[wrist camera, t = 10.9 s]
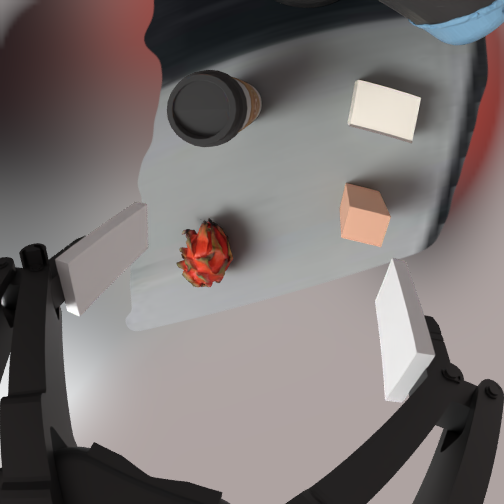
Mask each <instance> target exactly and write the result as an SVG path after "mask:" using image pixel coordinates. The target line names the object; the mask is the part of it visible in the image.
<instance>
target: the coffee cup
mask: <svg viewBox="0 0 504 504" xmlns="http://www.w3.org/2000/svg"><path fill="white" fill-rule="evenodd" d="M261 106H262V102H261V97H260V94H259V92H258V91H257V90H256V89H255V88H254V87H253V86H252V85H250V84H248V83H246V82H244V81H241V80H239V79H236V78H234V77H231V76H229V75H228V74H226V73H223V72H220V71H215V70H205V71H199V72H194V73H192V74H190V75H188V76H186V77H185V78H184V79H182V80H181V81H180V82H179V83H178V84H177V85H176V87H175V88H174V89H173V91H172V92H171V94H170V97H169V100H168V105H167V115H168V120H169V123H170V125H171V128H172V129H173V130H174V132H175V133H176V134H177V135H178V136H179V137H180V138H182V139H183V140H184V141H186V142H188V143H190V144H192V145H195V146H200V147H211V146H218V145H221V144H223V143H226V142H228V141H229V140H231V139H232V138H233V137H235V136H236V135H237V133H238V132H240V131H241V130H243V129H244V128H245V127H247V126H248V125H249V124H251V123H252V122H253V121H254V120H255V119H256V118H257V117H258V116H259V113H260V111H261Z"/></svg>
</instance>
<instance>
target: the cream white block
mask: <svg viewBox="0 0 504 504" xmlns="http://www.w3.org/2000/svg"><path fill="white" fill-rule="evenodd" d="M420 100H421V98H420V97H417V96H414V95H411V94H408V93H405V92H401V91H398V90H395V89H391V88H388V87H384V86H381V85H377V84H373V83H369V82H366V81H362V80H357V81H355V85H354V91H353V96H352V102H351V108H350V113H349V118H348V124H349V126H351V127H355V128H359V129H363V130H367V131H371V132H374V133H378V134H382V135H385V136H389V137H392V138H396V139H399V140H403V141H406V142H409V143H412V139H413V134H414V130H415V125H416V120H417V116H418V111H419V106H420Z"/></svg>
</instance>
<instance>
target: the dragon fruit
mask: <svg viewBox="0 0 504 504" xmlns="http://www.w3.org/2000/svg"><path fill="white" fill-rule="evenodd" d="M200 220H201V219H200ZM208 221H209V222H206V221H204V223H203V224H202V225H201V227H200V229H199V232H198V234H197V233H196V232H195V230H190V229H186V230H184V231H183V233H182V235H183V234H185V233H186V238H187V239H188V240H187V241H186V244H187V247H188V248H180V249H179V250H180V252H182V253H183V254H181V255H182V258H183V259H184V260H183V261H180V262H178V263H177V266H178V267H179V268H181V269H183V270H184V271H183V273H182V275H183V276H184V277H185V278H186V280H188V282H190V283H191V284H192V285H193V287H194V286H195V287H200V286H201V287H204V286H206V287H211V286H212V282H214V281H216V283H220V282H221V280H222V279H223V276H224V275H225V271H226V270H227V268H228V267H229V265H230V263H231V261H232V260H233V256H232V253H231V250H230V245H229V240H228V236H226V235H225V234H224V232H223V229H222V228H221V227H219V226H218V225H217V224H216V223H214V222H212V220H211V219H210V218H209V219H208ZM188 235H189V236H188Z"/></svg>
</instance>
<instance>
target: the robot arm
mask: <svg viewBox="0 0 504 504" xmlns="http://www.w3.org/2000/svg"><path fill="white" fill-rule="evenodd" d="M275 1H277V2H280V3H282V4H285V5H289V6H293V7H301V8H314V7H321V6H325V5H329V4H332V3H334V2H336V1H338V0H275ZM378 1H380V2H382V3H383V4H385V5H387V6H389V7H390V8H392V9H393V10H395V11H397V12H398V13H400V14H401V15H403V16H405V17H406V18H408V20H409V21H410V23H412V24H413V25H414V26H417V27H419V28H422V29H424V30H426V31H427V32H429V33H430V34H431V35H433V36H434V37H436V38H437V39H439V40H440V41H442V42H445V43H448V44H452V45H465V44H469V43H472V42H474V41H477V40H479V39H481V38H483V37H484V36H486V35H488V34H489V33H491V32H492V31H494V30H495V29H496V28H497V27H499V26H500V25H501V24H502V23H503V22H504V0H378ZM147 249H148V228H147V204H144V203H138V202H135V203H133V204H132V205H130V206H129V207H127V208H126V209H124V210H123V211H121V212H120V213H118V214H117V215H115V216H114V217H112V218H111V219H109V220H108V221H107V222H105V223H104V224H102V225H101V226H99V227H98V228H97V229H95V230H94V231H92V232H91V233H90V234H88V235H87V236H83V237H81V238H78V239H76V240H75V241H73V242H72V243H71V244H69V245H68V246H66V247H65V248H64V250H63V249H62V250H61V251H60V252H58V253H57V254H56V255H54V256H53V257H52V258H51V259H49V260H48V255H47V251H46V246H45V245H43V244H39V243H37V244H31V245H28V246H26V247H24V248H23V249H22V250H21V251H20V253H19V254H20V258H21V262H22V266H23V268H16V267H15V264H14V261H13V259H12V258H9V257H2V258H0V382H1V379H2V376H3V373H4V369H5V366H6V363H7V360H8V357H9V355H10V367H9V387H8V389H9V390H8V396H7V397H2V399H1V401H0V441H1V459H2V468H0V504H230V503H228V502H227V501H225V500H223V499H221V497H222V492H219V491H216V490H212V489H208V488H206V487H202V486H199V485H196V484H192V483H190V482H184V481H175V480H168V479H161V478H154V477H150V476H149V475H147V474H146V473H144V472H143V471H141V470H140V469H139V468H137V467H136V466H135V465H133V464H132V463H131V462H129V461H128V460H127V459H126V458H124V457H123V456H121V455H119V454H117V453H115V452H113V451H111V450H109V449H107V448H105V447H103V446H101V445H99V444H97V443H95V442H94V443H93V445H92V446H91V448H86V447H77V444H76V442H75V440H74V437H73V433H72V428H71V421H70V415H69V408H68V400H67V392H66V383H65V372H64V360H63V343H62V311H61V308H60V305H61V304H62V303H63V302H64V301H65V303H66V307H67V310H68V312H70V313H73V314H75V315H77V316H81V315H82V314H83V313H84V312H85V311H86V309H88V308H89V306H90V305H91V304H92V303H93V302H94V301H95V300H96V299H97V298H98V297H99V296H100V295H101V294H102V293H103V292H104V291H105V290H106V289H107V288H108V287H109V286H110V285H111V284H112V283H113V282H114V281H115V280H116V279H117V278H118V277H119V276H120V275H121V274H122V273H123V272H124V271H125V270H126V269H127V268H128V267H129V266H130V265H131V264H132V263H133V262H134V261H135V260H136V259H137V258H138V257H139V256H140V255H141V254H142V253H143V252H145V251H146V250H147ZM1 302H2V305H1ZM375 304H376V310H377V319H378V327H379V335H380V344H381V354H382V364H383V376H384V389H385V400H388V401H395V402H403V400H404V399H405V398H406V397H407V395H408V394H409V398H408V400H407V401H406V402H405V403H404V404H403V405H402V406H401V407H400V408H399V409H398V411H396V412H395V413H394V415H393V416H392V417H391V418H390V419H389V420H388V421H387V422H386V423H385V424H384V425H383V426H382V427H381V428H380V429H379V430H377V432H375V433H374V434H373V435H372V436H371V437H370V438H369V439H368V440H367V441H366V442H365V443H364V444H363V445H362V446H360V447H359V448H358V449H357V450H356V451H355V452H354V453H353V454H351V455H350V456H349V457H348V458H347V459H346V460H345V461H343V462H342V463H341V464H340V465H339V466H337V467H336V468H335V469H334V470H332V471H331V472H330V473H329V474H328V475H326V476H325V477H324V478H322V479H321V480H320V481H319V482H317V483H316V484H315V485H313V486H312V487H310V488H309V489H307V490H305V491H303V492H302V493H300V494H299V495H297V496H296V497H294V498H293V499H292V500H290V501H289V502H287V503H286V504H367V503H368V502H369V501H370V499H372V498H373V497H374V496H375V494H377V493H378V491H380V490H381V489H382V488H383V486H384V485H385V484H386V483H387V482H388V481H389V480H390V479H391V478H392V477H393V476H394V475H395V474H396V473H397V471H398V470H399V469H400V468H401V467H402V466H403V465H404V463H405V462H406V461H407V460H408V459H409V458H410V456H411V455H412V454H413V453H414V452H415V450H416V449H417V448H418V447H419V445H420V444H421V443H422V442H423V440H424V439H425V438H426V437H427V435H428V434H429V432H430V431H431V430H432V429H433V427H434V426H435V425H437V426H440V427H442V428H444V429H443V432H442V435H441V438H440V440H439V443H438V446H437V448H436V451H435V454H434V456H433V459H432V461H431V464H430V466H429V469H428V471H427V473H426V476H425V478H424V480H423V482H422V485H421V487H420V489H419V491H418V493H417V495H416V497H415V500H414V501H413V503H412V504H483V502H484V498H485V495H486V492H487V488H488V484H489V480H490V477H491V473H492V468H493V464H494V459H495V455H496V450H497V444H498V439H499V433H500V427H501V419H502V412H503V403H504V393H503V391H502V388H501V387H500V386H499V385H498V384H497V383H496V382H494V381H493V380H490V379H485V380H483V381H482V382H481V383H480V384H479V385H478V386H476V385H473V384H471V383H469V382H466V381H464V378H463V374H462V372H461V371H460V369H459V368H458V367H457V366H455V365H454V364H452V363H450V360H449V357H448V353H447V350H446V346H445V343H444V342H443V337H442V335H441V331H440V328H439V325H438V324H437V322H436V321H435V320H434V319H433V317H430V316H425V315H424V314H423V311H422V308H421V304H420V301H419V298H418V295H417V292H416V289H415V286H414V283H413V281H412V277H411V275H410V272H409V269H408V266H407V263H406V261H403V260H399V259H395V258H392V260H391V262H390V265H389V268H388V270H387V273H386V276H385V278H384V281H383V283H382V286H381V288H380V291H379V293H378V296H377V298H376V300H375ZM10 352H11V354H10Z"/></svg>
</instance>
